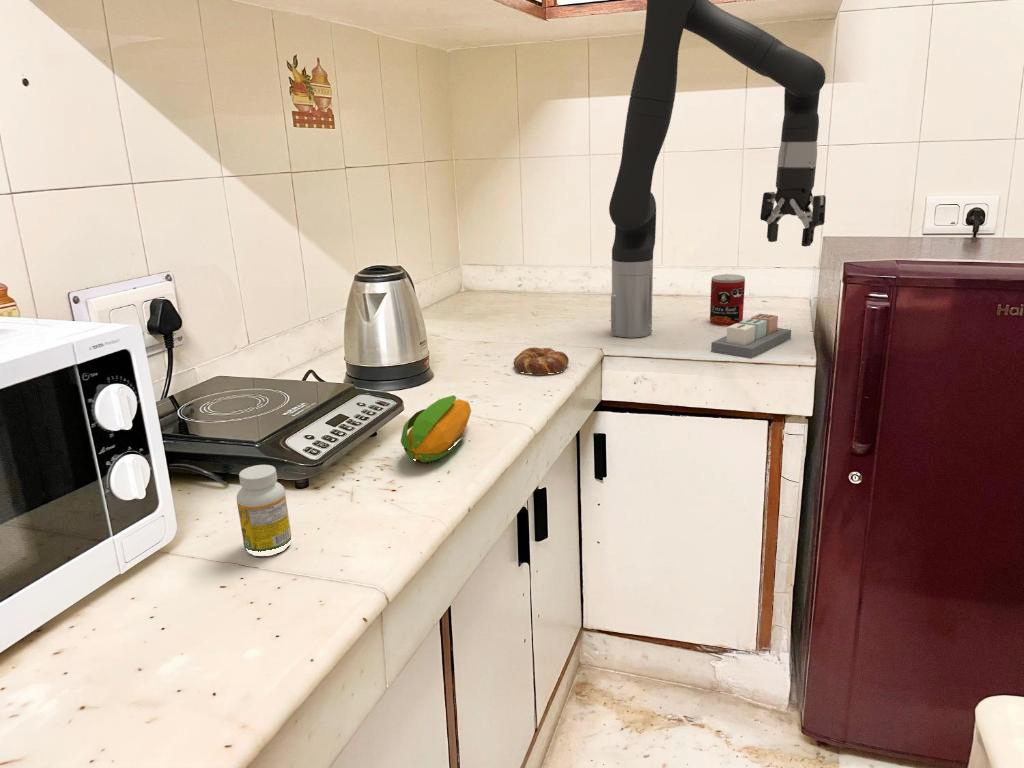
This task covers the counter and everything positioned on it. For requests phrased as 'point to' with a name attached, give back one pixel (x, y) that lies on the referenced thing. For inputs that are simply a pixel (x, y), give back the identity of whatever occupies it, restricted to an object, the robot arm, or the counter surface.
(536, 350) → the brown bread ring
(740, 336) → the cream tile
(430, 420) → the corn
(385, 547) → the counter surface
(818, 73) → the robot arm
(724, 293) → the canned food
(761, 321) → the teal tile
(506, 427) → the counter surface
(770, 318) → the slotted peach tile
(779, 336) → the frame
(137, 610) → the counter surface
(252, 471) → the supplement bottle
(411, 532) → the counter surface
